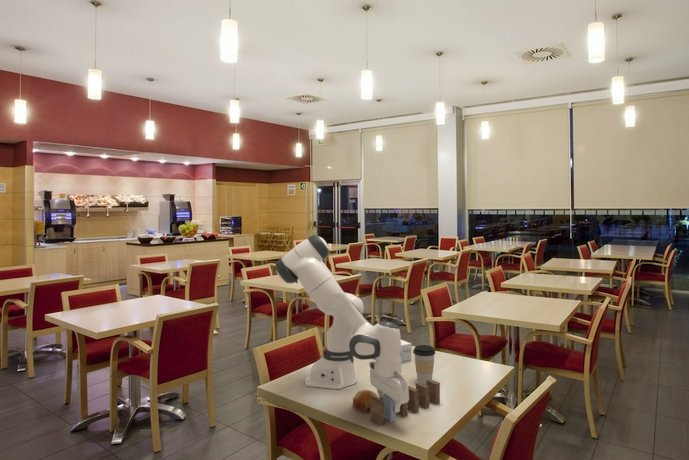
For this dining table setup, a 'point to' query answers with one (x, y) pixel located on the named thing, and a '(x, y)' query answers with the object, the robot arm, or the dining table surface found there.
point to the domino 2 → (389, 408)
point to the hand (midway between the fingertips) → (389, 406)
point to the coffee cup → (424, 362)
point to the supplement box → (405, 352)
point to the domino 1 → (377, 411)
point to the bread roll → (363, 400)
